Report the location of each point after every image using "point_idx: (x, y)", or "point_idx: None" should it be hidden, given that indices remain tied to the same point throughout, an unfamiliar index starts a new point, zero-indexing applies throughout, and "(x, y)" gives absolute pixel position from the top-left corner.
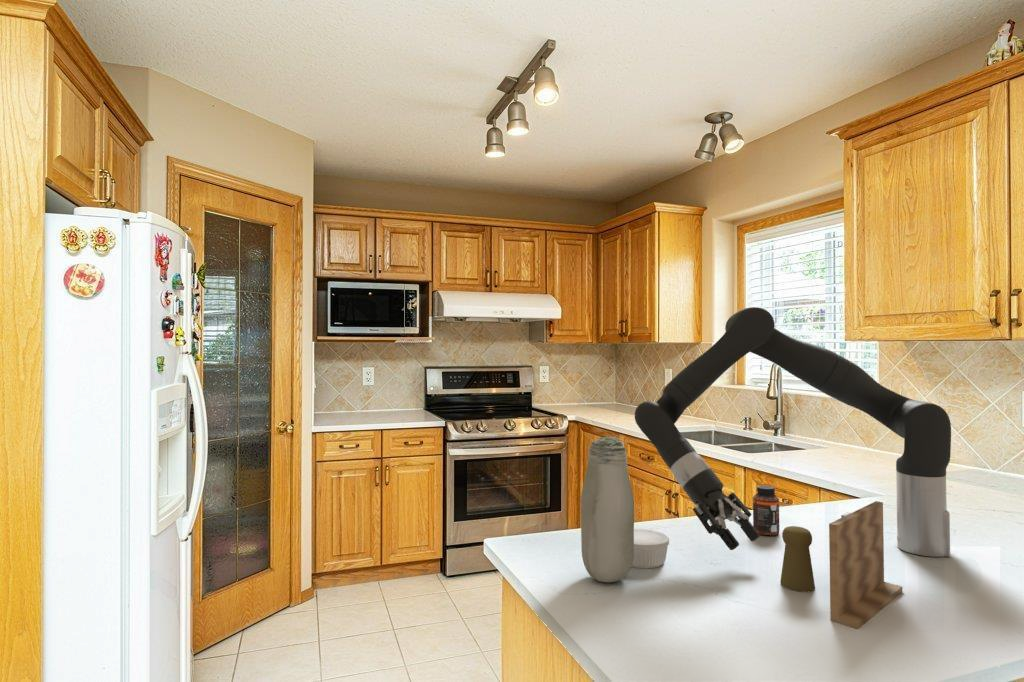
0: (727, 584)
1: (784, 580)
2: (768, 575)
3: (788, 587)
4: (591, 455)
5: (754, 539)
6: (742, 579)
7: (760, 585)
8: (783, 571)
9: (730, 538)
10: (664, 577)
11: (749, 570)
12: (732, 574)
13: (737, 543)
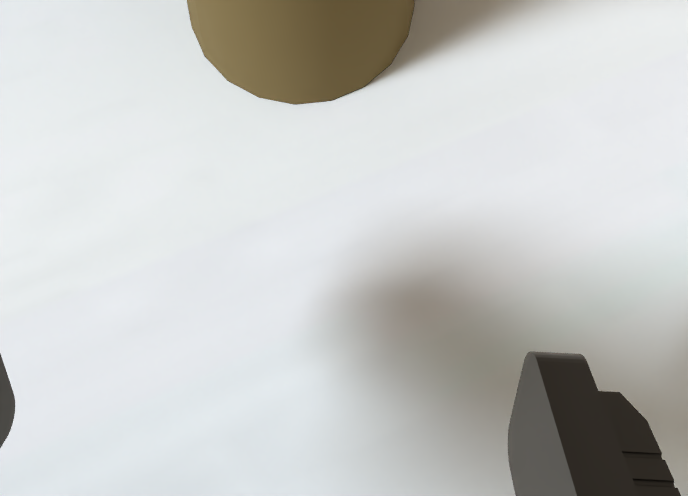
0: (673, 365)
1: (396, 25)
2: (253, 216)
3: (411, 12)
4: None
5: (1, 379)
6: (484, 326)
7: (495, 177)
8: (376, 5)
9: (626, 461)
10: None
11: (250, 373)
12: (442, 436)
13: (569, 357)
